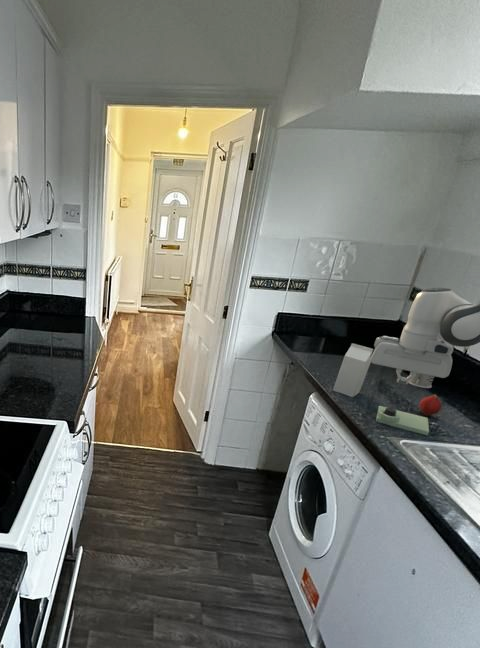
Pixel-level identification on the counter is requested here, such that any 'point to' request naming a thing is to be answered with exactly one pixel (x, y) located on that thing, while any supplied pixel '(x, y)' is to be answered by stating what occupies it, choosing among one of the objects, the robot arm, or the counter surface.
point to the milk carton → (353, 370)
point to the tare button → (390, 412)
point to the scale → (404, 421)
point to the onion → (430, 405)
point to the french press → (422, 380)
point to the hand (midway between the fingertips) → (401, 382)
